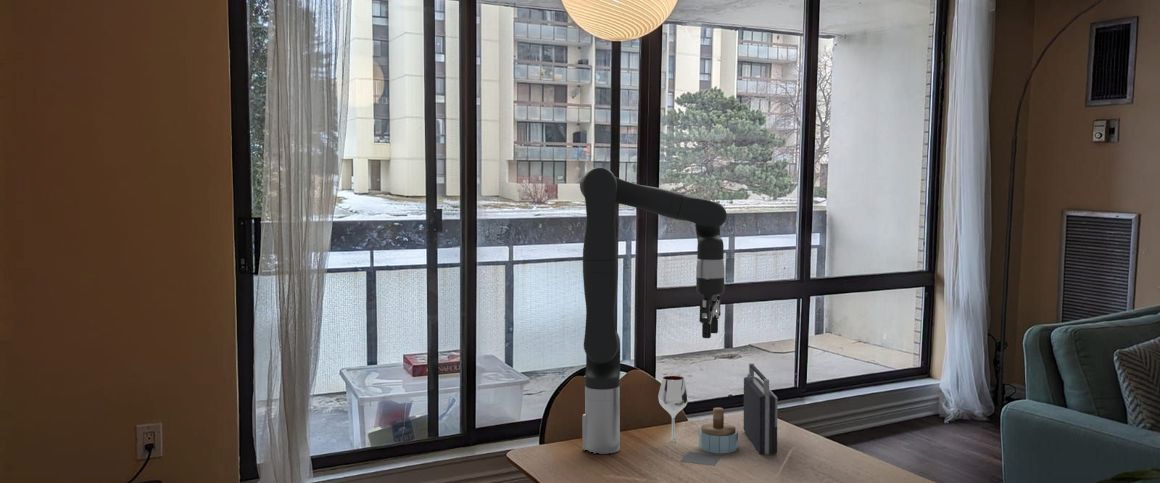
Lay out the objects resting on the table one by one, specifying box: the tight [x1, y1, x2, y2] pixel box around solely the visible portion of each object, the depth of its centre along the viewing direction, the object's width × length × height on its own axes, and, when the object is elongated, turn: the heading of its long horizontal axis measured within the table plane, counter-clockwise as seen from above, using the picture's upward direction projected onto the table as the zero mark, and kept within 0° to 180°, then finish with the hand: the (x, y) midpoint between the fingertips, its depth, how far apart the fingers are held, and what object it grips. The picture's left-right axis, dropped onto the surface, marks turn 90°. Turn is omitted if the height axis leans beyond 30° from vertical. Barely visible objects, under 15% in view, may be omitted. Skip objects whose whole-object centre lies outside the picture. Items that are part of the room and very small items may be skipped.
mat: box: [679, 451, 723, 467], centre depth 218 cm, size 9×9×1 cm
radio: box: [743, 362, 778, 455], centre depth 233 cm, size 24×5×20 cm, turn 179°
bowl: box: [698, 428, 739, 454], centre depth 227 cm, size 10×10×5 cm
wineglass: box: [657, 375, 689, 443], centre depth 233 cm, size 8×8×18 cm
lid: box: [700, 407, 736, 436], centre depth 227 cm, size 9×9×6 cm
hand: (710, 335), depth 230 cm, fingers open, 8 cm apart
